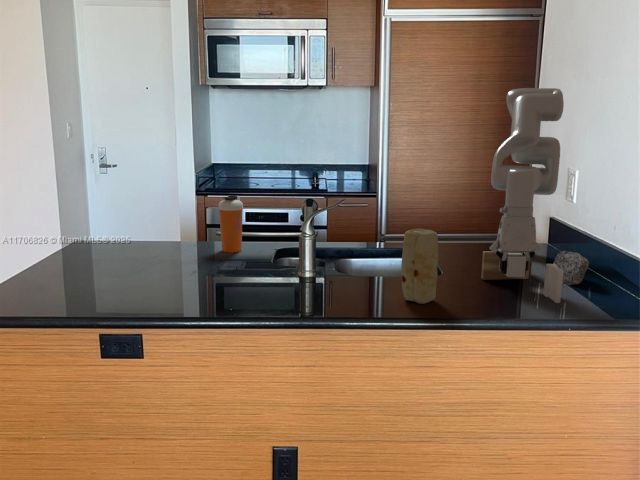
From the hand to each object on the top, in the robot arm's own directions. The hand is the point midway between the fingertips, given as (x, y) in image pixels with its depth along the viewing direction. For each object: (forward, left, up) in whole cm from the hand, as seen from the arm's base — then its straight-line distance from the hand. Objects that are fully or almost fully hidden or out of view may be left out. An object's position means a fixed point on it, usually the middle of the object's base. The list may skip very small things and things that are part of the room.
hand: (513, 272), depth 172 cm
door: (-9, +1, -5) cm, 10 cm away
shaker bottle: (-44, -89, -5) cm, 99 cm away
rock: (-8, +20, -5) cm, 22 cm away
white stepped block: (-1, 0, -1) cm, 2 cm away
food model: (+13, -30, -5) cm, 33 cm away
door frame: (-3, +8, -5) cm, 10 cm away
